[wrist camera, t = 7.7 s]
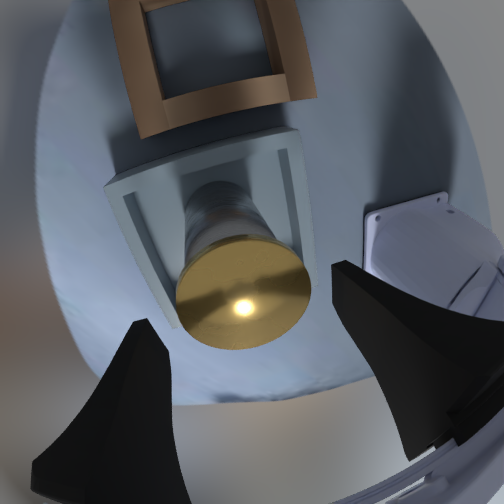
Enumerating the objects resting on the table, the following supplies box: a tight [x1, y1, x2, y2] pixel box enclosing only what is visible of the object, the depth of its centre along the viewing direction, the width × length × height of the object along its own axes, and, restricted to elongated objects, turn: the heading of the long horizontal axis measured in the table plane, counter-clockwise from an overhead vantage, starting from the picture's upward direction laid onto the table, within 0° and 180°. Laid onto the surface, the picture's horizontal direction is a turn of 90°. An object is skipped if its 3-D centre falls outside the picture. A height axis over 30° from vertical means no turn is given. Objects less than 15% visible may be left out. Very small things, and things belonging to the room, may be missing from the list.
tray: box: [103, 126, 318, 329], centre depth 16 cm, size 10×10×2 cm
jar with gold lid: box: [176, 181, 311, 350], centre depth 12 cm, size 5×5×8 cm
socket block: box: [108, 0, 317, 139], centre depth 10 cm, size 9×9×2 cm
